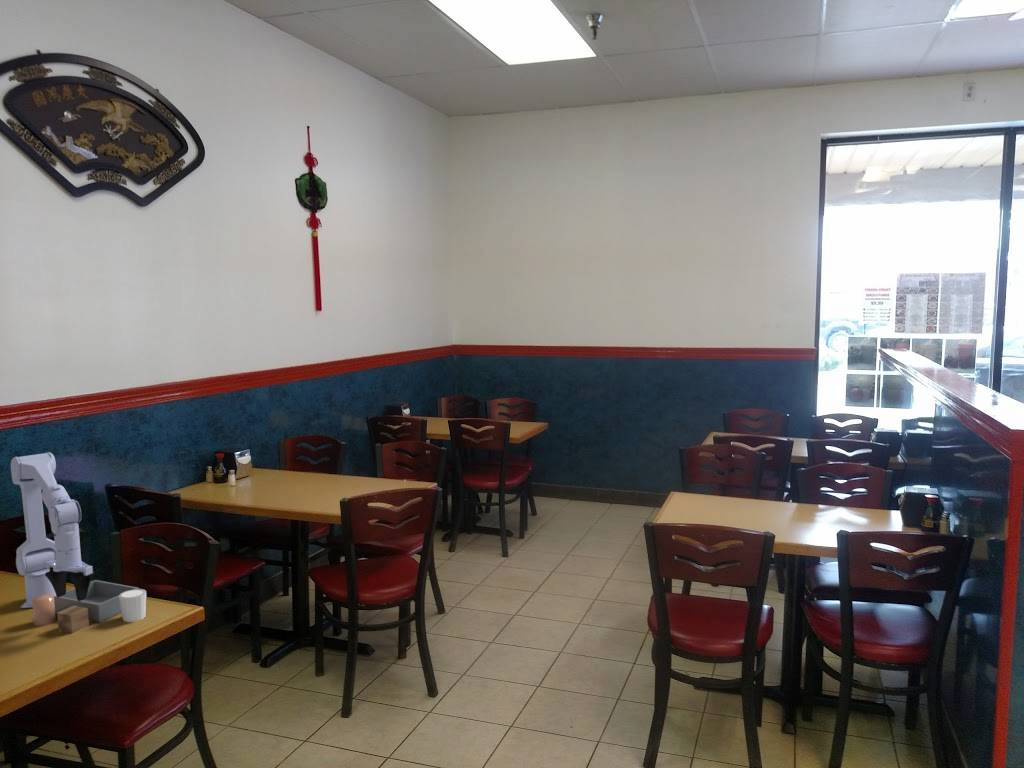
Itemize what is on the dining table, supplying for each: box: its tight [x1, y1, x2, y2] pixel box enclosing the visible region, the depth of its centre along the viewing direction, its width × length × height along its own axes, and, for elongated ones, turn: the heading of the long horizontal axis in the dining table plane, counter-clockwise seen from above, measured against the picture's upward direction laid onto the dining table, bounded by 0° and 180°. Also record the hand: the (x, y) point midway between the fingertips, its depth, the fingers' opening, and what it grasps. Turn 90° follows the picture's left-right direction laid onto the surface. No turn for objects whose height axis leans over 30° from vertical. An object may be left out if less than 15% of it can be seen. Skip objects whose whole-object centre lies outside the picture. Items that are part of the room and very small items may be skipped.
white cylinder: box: [119, 588, 147, 623], centre depth 210 cm, size 7×7×7 cm
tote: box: [54, 579, 140, 623], centre depth 216 cm, size 17×13×5 cm
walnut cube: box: [56, 606, 90, 634], centre depth 204 cm, size 5×5×5 cm
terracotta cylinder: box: [32, 594, 57, 627], centre depth 208 cm, size 5×5×7 cm
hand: (71, 597), depth 203 cm, fingers open, 7 cm apart
